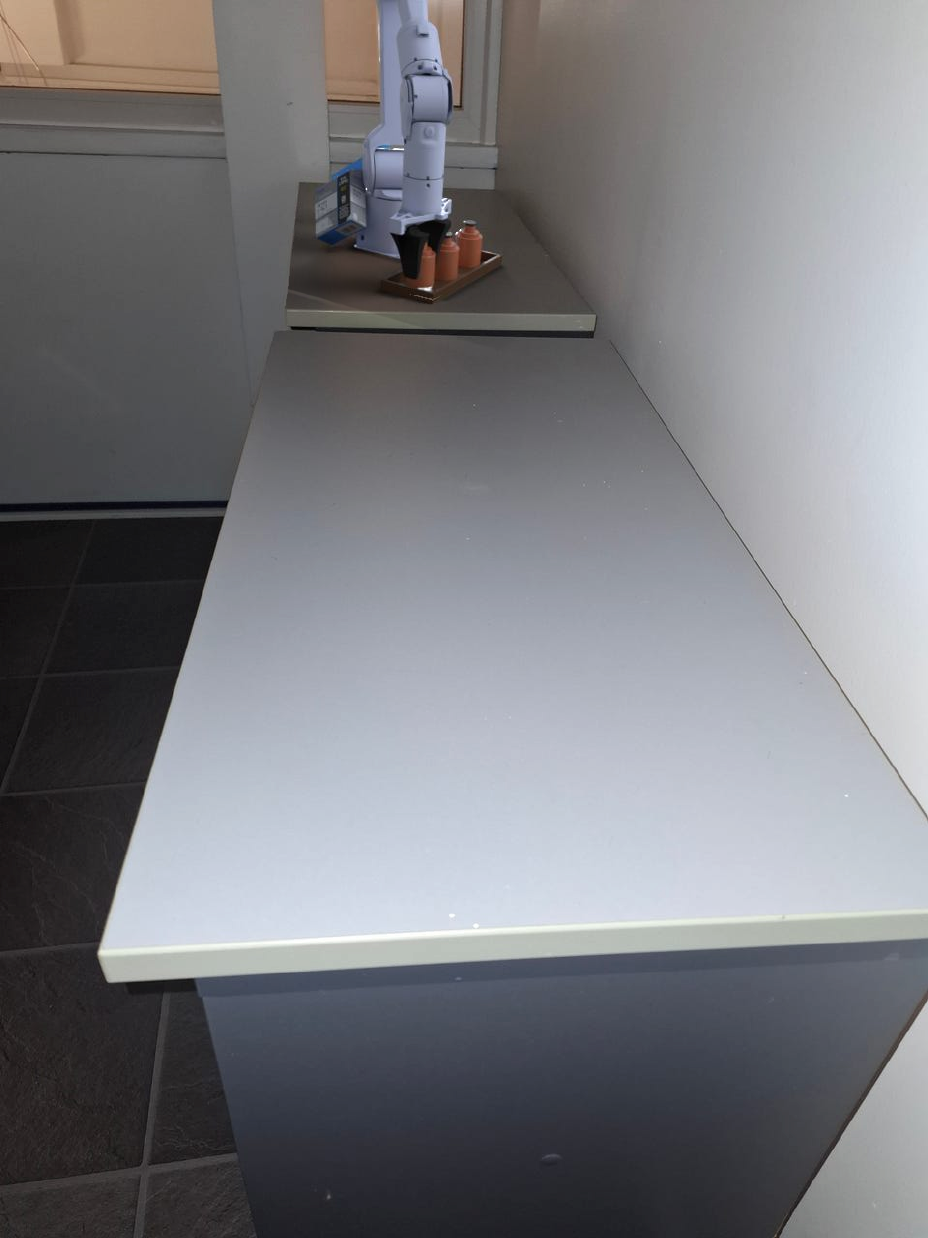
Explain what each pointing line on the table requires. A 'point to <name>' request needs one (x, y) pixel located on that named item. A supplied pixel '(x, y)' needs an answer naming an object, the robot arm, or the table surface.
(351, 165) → the ink cartridge box
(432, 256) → the loose bottle
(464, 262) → the bottle back
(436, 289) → the tray
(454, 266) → the bottle middle
